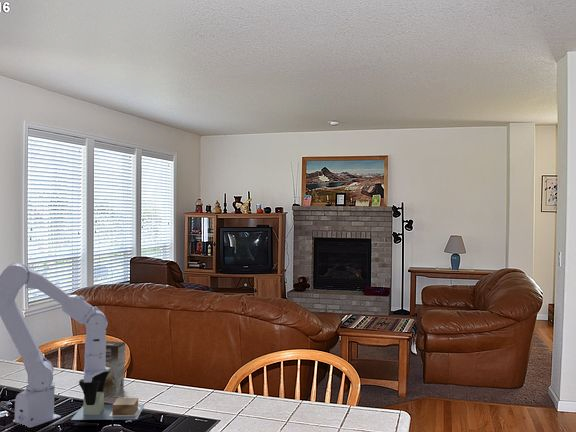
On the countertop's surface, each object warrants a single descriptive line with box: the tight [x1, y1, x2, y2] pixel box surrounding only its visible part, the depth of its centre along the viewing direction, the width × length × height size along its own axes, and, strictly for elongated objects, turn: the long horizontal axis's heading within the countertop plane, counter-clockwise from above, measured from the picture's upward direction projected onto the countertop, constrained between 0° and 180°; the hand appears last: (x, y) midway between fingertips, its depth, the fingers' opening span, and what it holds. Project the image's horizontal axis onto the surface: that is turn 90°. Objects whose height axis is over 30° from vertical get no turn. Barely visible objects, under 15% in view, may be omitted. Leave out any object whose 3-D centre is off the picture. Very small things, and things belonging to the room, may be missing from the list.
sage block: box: [82, 392, 105, 415], centre depth 151 cm, size 4×4×5 cm
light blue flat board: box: [70, 403, 146, 421], centre depth 151 cm, size 18×12×1 cm, turn 95°
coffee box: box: [103, 340, 126, 396], centre depth 169 cm, size 9×6×16 cm
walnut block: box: [112, 397, 139, 415], centre depth 151 cm, size 6×6×3 cm
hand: (94, 400), depth 151 cm, fingers open, 7 cm apart
